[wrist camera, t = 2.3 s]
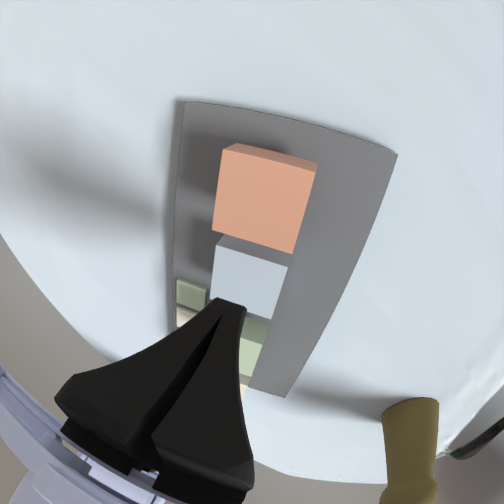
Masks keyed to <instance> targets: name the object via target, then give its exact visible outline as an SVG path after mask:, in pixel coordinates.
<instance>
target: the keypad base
mask: <svg viewBox="0 0 504 504" xmlns="http://www.w3.org/2000/svg"><path fill="white" fill-rule="evenodd" d="M236 143H240V144H245V145H249V146H254V147H258V148H262V149H266V150H271V151H275V152H279V153H282V154H286V155H290V156H294V157H298V158H301V159H305V160H308V161H312V162H315V163H318V166H317V170H316V174H315V177H314V181H313V184H312V188H311V192H310V195H309V199H308V202H307V206H306V209H305V213H304V216H303V220H302V223H301V226H300V230H299V233H298V236H297V240H296V243H295V246H294V250H293V253H292V256H291V259H290V262H289V266H288V269H287V272H286V275H285V278H284V282H283V285H282V288H281V291H280V294H279V297H278V300H277V303H276V306H275V309H274V312H273V315H272V318H271V319H268V318H265V317H262V316H259V315H256V314H253V313H250V312H246V317H248V318H251V319H254V320H257V321H260V322H264V323H267V324H269V327H268V330H267V333H266V336H265V339H264V342H263V345H262V348H261V351H260V354H259V356H258V359H257V362H256V365H255V368H254V371H253V373H252V376H251V379H250V382H249V384H248V387H250V388H253V389H256V390H259V391H263V392H266V393H269V394H273V395H276V396H280V397H283V398H285V397H286V395H287V394H288V392H289V390H290V389H291V387H292V385H293V384H294V382H295V381H296V379H297V377H298V376H299V374H300V372H301V370H302V369H303V367H304V365H305V364H306V362H307V360H308V358H309V357H310V355H311V353H312V351H313V350H314V348H315V346H316V344H317V342H318V340H319V339H320V337H321V335H322V333H323V331H324V329H325V327H326V326H327V324H328V322H329V320H330V318H331V316H332V314H333V312H334V310H335V308H336V306H337V304H338V302H339V300H340V298H341V296H342V294H343V292H344V290H345V288H346V285H347V283H348V281H349V279H350V277H351V275H352V273H353V270H354V268H355V266H356V264H357V262H358V259H359V257H360V255H361V252H362V250H363V248H364V245H365V243H366V241H367V238H368V236H369V233H370V231H371V229H372V226H373V224H374V221H375V219H376V216H377V213H378V211H379V208H380V206H381V203H382V200H383V198H384V195H385V192H386V189H387V186H388V184H389V181H390V178H391V175H392V172H393V169H394V166H395V163H396V160H397V157H398V154H396V153H395V152H394V151H392V150H389V149H387V148H384V147H381V146H379V145H376V144H373V143H370V142H368V141H365V140H362V139H359V138H356V137H353V136H350V135H347V134H344V133H340V132H337V131H334V130H330V129H327V128H324V127H320V126H316V125H313V124H309V123H305V122H301V121H297V120H293V119H289V118H285V117H281V116H276V115H272V114H267V113H262V112H257V111H252V110H246V109H241V108H235V107H229V106H222V105H215V104H208V103H200V102H185V106H184V114H183V121H182V130H181V139H180V148H179V158H178V169H177V182H176V196H175V213H174V236H173V331H175V330H177V329H178V328H179V327H181V326H182V325H184V324H185V323H186V322H187V321H189V320H190V319H191V318H193V317H194V316H195V315H196V314H197V313H199V312H200V311H201V310H202V309H203V308H204V307H206V306H207V305H208V304H209V303H210V302H211V301H212V299H210V291H211V282H212V273H213V265H214V257H215V249H216V244H217V243H218V242H219V241H220V239H221V238H222V237H223V236H224V233H221V232H217V231H214V230H212V224H213V216H214V208H215V201H216V193H217V186H218V179H219V172H220V165H221V158H222V152H223V149H224V148H226V147H229V146H231V145H233V144H236Z"/></svg>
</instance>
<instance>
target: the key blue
mask: <svg viewBox="0 0 504 504" xmlns="http://www.w3.org/2000/svg"><path fill="white" fill-rule="evenodd" d="M291 256H292V254H290V253H287V252H283V251H280V250H277V249H273V248H270V247H267V246H264V245H260V244H257V243H254V242H251V241H247V240H244V239H241V238H237V237H234V236H231V235H227V234H224V236H223V237H222V238H221V239H220V241H219V242H218V243H217V244H216V249H215V257H214V265H213V273H212V282H211V291H210V299H212V300H213V299H214V298H216V297H219V298H221V299H224V300H227V301H230V302H233V303H236V304H239V305H242V306H245V307H246V308H247V312H250V313H253V314H256V315H259V316H262V317H265V318H268V319H271V318H272V315H273V312H274V309H275V306H276V303H277V300H278V297H279V294H280V291H281V288H282V285H283V282H284V278H285V275H286V272H287V269H288V266H289V262H290V259H291Z"/></svg>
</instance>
